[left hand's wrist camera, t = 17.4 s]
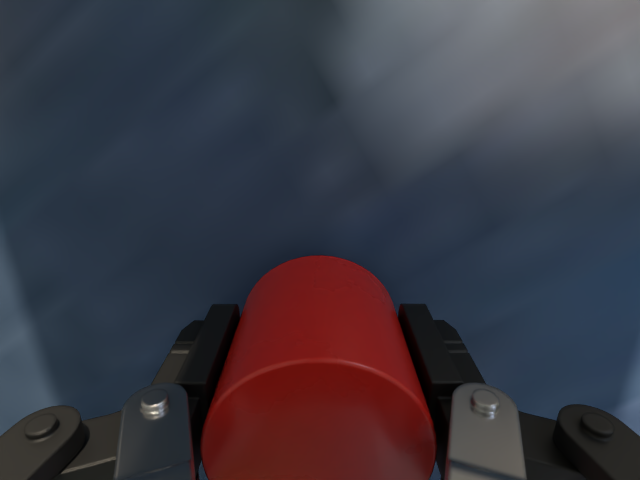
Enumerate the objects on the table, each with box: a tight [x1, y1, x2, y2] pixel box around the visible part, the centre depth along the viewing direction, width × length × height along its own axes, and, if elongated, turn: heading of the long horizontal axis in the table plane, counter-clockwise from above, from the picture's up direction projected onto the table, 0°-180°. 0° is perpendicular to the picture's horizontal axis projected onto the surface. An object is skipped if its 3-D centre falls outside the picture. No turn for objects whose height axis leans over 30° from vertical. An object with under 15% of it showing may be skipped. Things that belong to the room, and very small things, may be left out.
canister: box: [200, 255, 437, 480], centre depth 11 cm, size 5×5×5 cm
